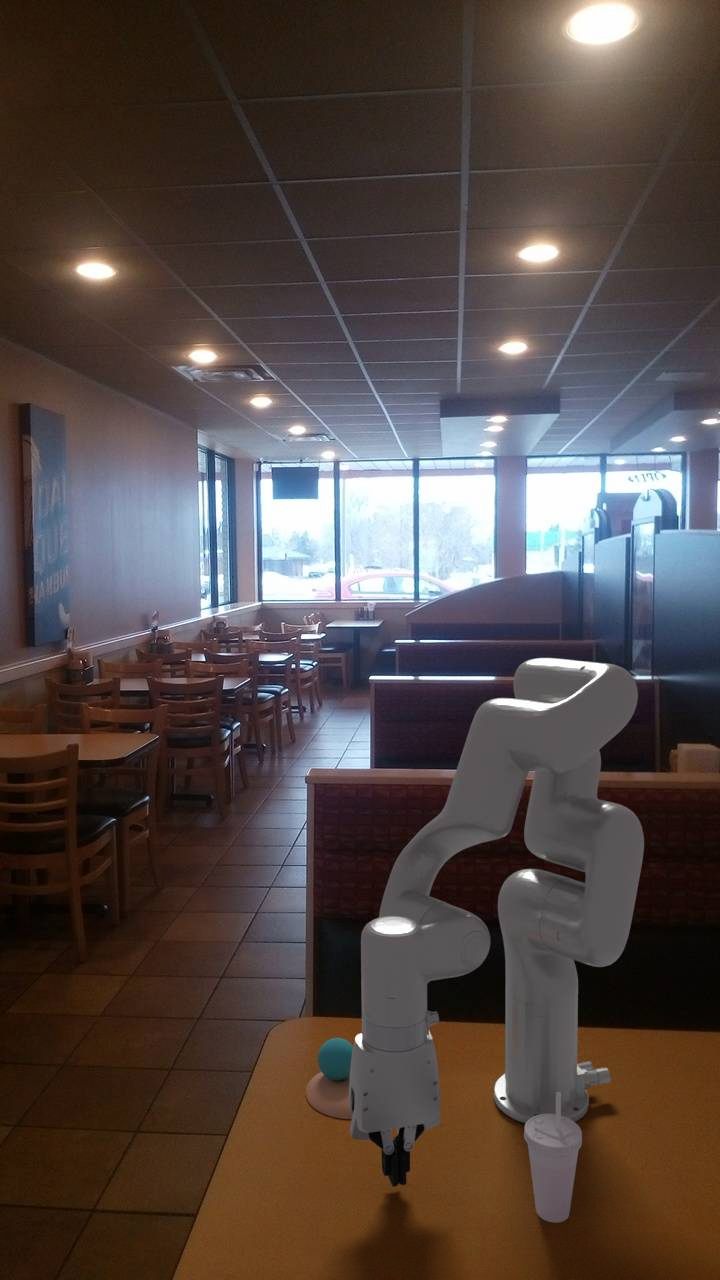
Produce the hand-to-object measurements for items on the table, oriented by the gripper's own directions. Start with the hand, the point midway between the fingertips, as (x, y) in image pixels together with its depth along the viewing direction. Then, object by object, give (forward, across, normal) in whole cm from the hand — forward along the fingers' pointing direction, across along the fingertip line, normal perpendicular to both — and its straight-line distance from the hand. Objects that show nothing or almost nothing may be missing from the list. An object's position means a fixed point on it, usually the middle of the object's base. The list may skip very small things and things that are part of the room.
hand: (395, 1177), depth 109 cm
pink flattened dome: (+2, 0, -21) cm, 21 cm away
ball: (-1, +1, -25) cm, 25 cm away
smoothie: (+2, -16, +8) cm, 18 cm away
